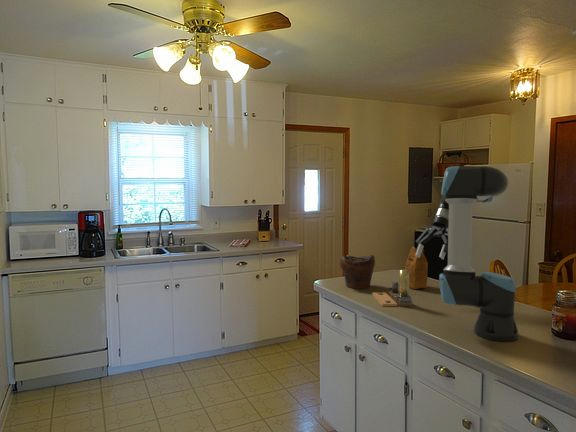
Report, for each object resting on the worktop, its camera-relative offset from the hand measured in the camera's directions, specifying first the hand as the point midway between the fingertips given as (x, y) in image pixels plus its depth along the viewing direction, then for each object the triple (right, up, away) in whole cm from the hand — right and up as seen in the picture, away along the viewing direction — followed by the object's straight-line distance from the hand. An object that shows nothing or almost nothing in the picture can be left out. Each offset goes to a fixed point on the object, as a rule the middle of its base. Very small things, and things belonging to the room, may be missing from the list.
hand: (429, 257), depth 204 cm
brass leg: (-14, -20, -3) cm, 24 cm away
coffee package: (+3, -20, +31) cm, 37 cm away
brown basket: (-29, -19, +32) cm, 47 cm away
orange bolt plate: (-21, -21, +4) cm, 30 cm away
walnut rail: (-13, -21, +5) cm, 26 cm away
